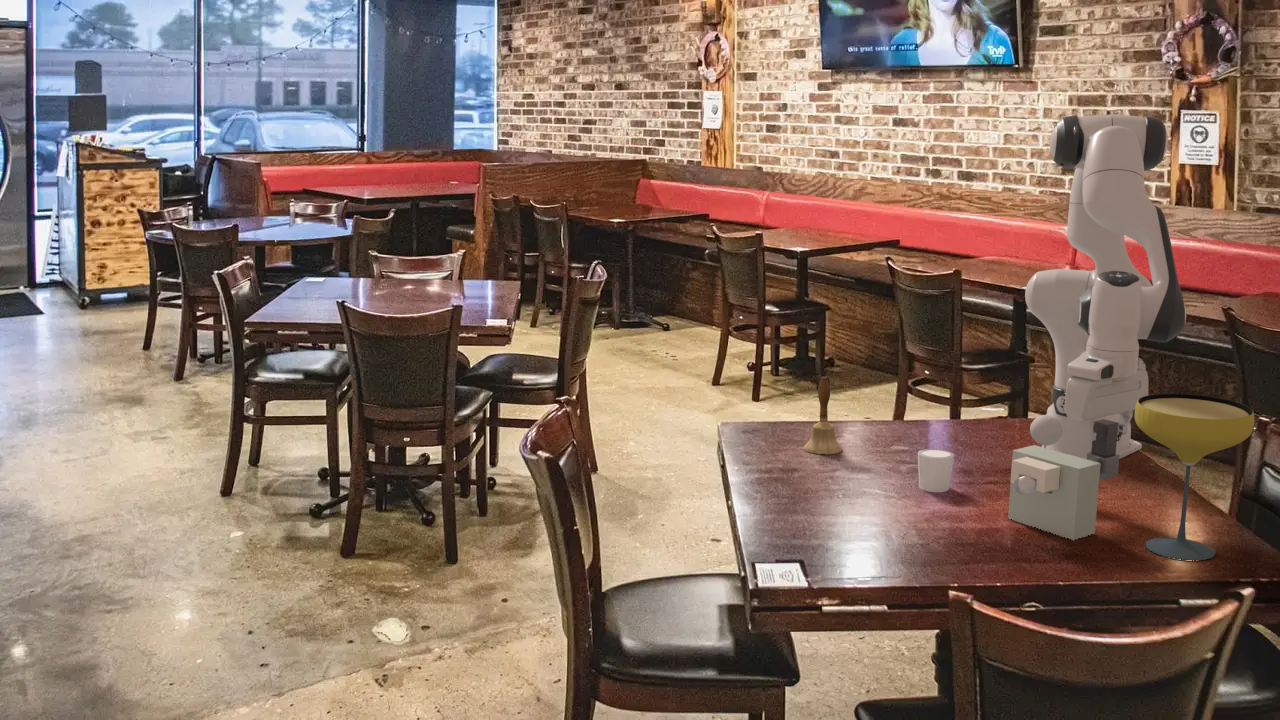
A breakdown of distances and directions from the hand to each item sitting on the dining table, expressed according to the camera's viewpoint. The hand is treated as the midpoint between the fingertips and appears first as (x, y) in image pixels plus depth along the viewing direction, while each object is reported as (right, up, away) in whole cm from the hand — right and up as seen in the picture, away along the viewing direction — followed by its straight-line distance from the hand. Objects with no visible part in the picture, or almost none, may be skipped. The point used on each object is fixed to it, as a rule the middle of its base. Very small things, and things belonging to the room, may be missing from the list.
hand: (1104, 437), depth 230 cm
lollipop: (-7, -11, +15) cm, 20 cm away
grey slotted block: (-11, -15, -5) cm, 20 cm away
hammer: (-8, -8, -4) cm, 13 cm away
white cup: (-27, -11, +17) cm, 34 cm away
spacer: (-16, -8, -10) cm, 20 cm away
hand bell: (-45, -5, +43) cm, 62 cm away
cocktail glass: (+7, -18, -16) cm, 25 cm away
